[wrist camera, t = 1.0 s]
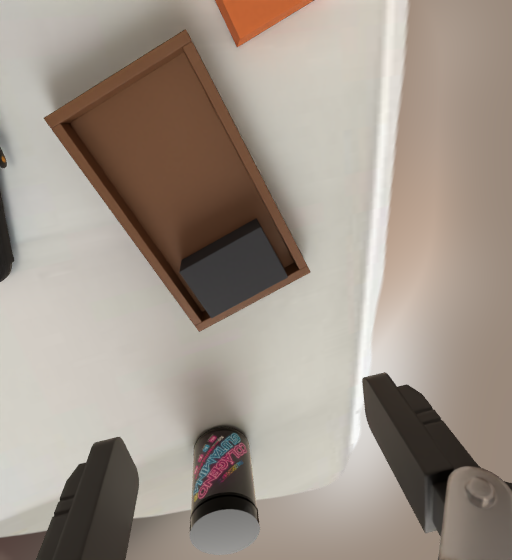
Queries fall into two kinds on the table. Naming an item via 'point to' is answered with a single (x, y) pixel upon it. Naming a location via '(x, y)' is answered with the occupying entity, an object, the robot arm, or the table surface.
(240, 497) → the supplement container
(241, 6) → the rust pad
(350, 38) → the table surface
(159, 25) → the table surface
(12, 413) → the table surface
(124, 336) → the table surface
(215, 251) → the charcoal pad
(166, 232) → the brown wooden tray
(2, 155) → the carrying case
